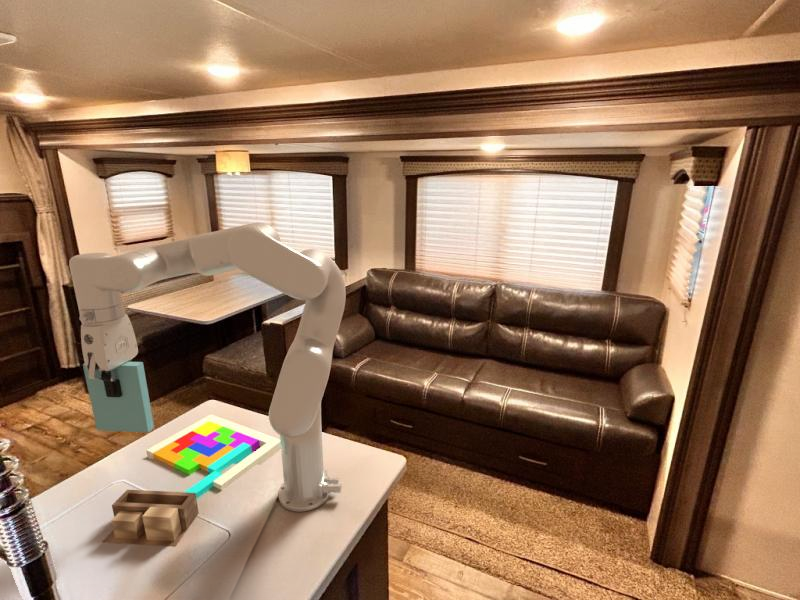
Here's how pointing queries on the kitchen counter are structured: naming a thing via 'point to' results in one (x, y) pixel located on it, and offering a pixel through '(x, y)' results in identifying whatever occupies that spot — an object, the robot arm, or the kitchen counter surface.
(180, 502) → the rack
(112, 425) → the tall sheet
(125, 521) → the offcut short
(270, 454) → the puzzle game
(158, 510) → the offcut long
